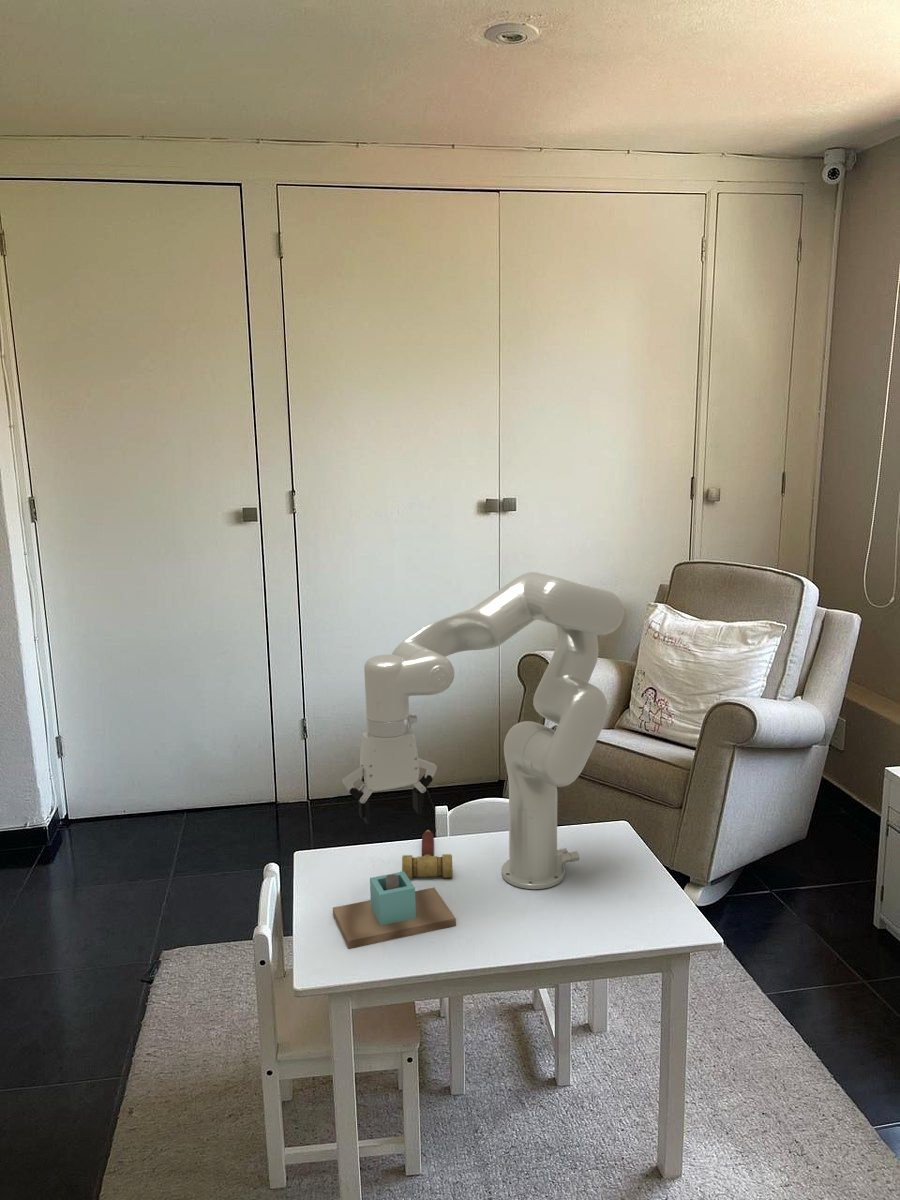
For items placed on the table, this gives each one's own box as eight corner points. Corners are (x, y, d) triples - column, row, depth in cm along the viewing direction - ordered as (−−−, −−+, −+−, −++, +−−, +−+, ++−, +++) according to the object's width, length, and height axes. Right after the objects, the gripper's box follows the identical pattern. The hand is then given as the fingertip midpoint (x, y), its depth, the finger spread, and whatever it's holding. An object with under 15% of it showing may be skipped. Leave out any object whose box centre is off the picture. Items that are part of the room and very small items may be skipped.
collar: (404, 900, 174) (404, 871, 173) (415, 918, 168) (414, 887, 167) (371, 907, 172) (369, 877, 171) (380, 925, 166) (379, 894, 165)
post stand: (434, 894, 179) (433, 853, 178) (455, 925, 168) (455, 882, 166) (332, 914, 173) (330, 872, 171) (348, 948, 162) (346, 904, 160)
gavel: (405, 822, 205) (450, 820, 205) (405, 841, 205) (450, 840, 205) (401, 861, 184) (452, 859, 184) (402, 883, 184) (452, 881, 185)
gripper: (427, 712, 170) (430, 800, 173) (335, 725, 164) (340, 816, 167) (441, 725, 163) (444, 815, 166) (345, 739, 157) (350, 833, 160)
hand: (392, 815), depth 167 cm, fingers open, 9 cm apart
